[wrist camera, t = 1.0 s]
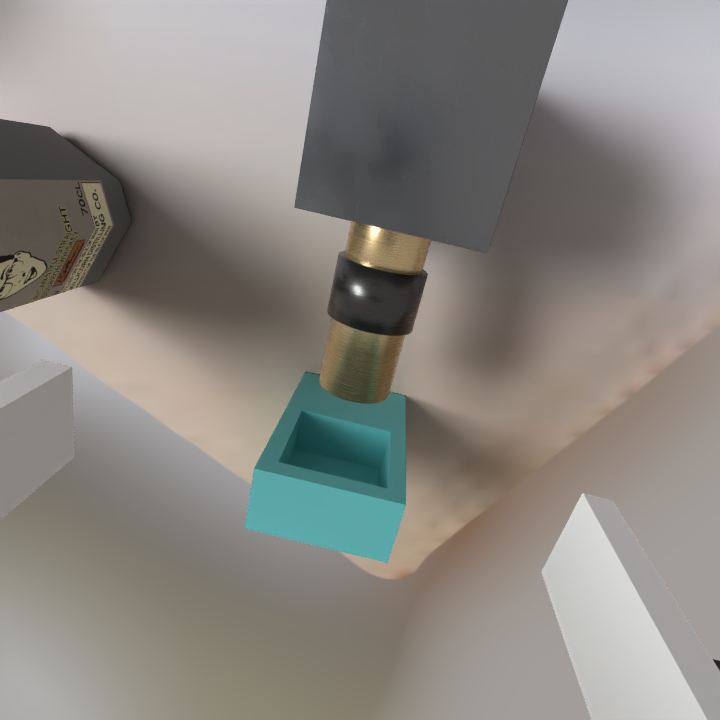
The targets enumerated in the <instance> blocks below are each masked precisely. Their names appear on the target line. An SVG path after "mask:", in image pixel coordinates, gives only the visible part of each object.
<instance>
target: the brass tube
mask: <svg viewBox="0 0 720 720" xmlns="http://www.w3.org/2000/svg"><path fill="white" fill-rule="evenodd" d="M430 241H431V240H429V239H425V238H421V237H417V236H412V235H408V234H404V233H400V232H395V231H391V230H387V229H383V228H379V227H374V226H370V225H366V224H362V223H358V222H353V221H351V226H350V231H349V236H348V241H347V246H346V250H345V251H343V252H340V253H339V255H338V260H337V265H336V270H335V275H334V280H333V285H332V290H331V295H330V300H329V305H328V310H327V311H328V314H329V315H330V316H331V317H332V319H331V324H330V329H329V334H328V339H327V344H326V349H325V354H324V359H323V363H322V368H321V373H320V378H319V382H320V384H321V386H322V387H323V388H324V389H325V390H326V391H327V392H329V393H330V394H332V395H334V396H336V397H338V398H340V399H343V400H346V401H350V402H355V403H363V404H373V403H379V402H382V401H384V400H386V399H387V398H388V396H389V393H390V389H391V385H392V381H393V378H394V374H395V370H396V367H397V363H398V359H399V356H400V352H401V348H402V345H403V341H404V337H405V335H407V334H409V333H411V332H412V330H413V326H414V322H415V319H416V315H417V312H418V308H419V304H420V301H421V297H422V293H423V290H424V286H425V283H426V279H427V275H428V274H427V272H426V271H424V270H423V267H424V263H425V260H426V256H427V252H428V249H429V245H430Z"/></svg>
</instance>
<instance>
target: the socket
mask: <svg viewBox="0 0 720 720" xmlns="http://www.w3.org/2000/svg"><path fill="white" fill-rule="evenodd" d="M319 378H320V375H317V374H313V373H309V372H305V374H304V376H303V377H302V379H301V381H300V383H299V385H298V387H297V389H296V391H295V393H294V394H293V396H292V398H291V400H290V402H289V404H288V406H287V408H286V409H285V411H284V413H283V415H282V417H281V419H280V421H279V423H278V425H277V426H276V428H275V430H274V432H273V434H272V436H271V438H270V440H269V442H268V443H267V445H266V447H265V449H264V451H263V453H262V455H261V457H260V459H259V460H258V462H257V464H256V466H255V468H254V473H253V480H252V486H251V492H250V499H249V505H248V512H247V518H246V524H245V528H246V529H250V530H254V531H258V532H263V533H267V534H270V535H274V536H279V537H283V538H287V539H291V540H295V541H300V542H303V543H307V544H312V545H316V546H320V547H324V548H328V549H332V550H336V551H341V552H345V553H349V554H353V555H357V556H361V557H365V558H370V559H374V560H378V561H382V562H386V563H388V560H389V557H390V553H391V550H392V547H393V544H394V541H395V538H396V535H397V532H398V528H399V525H400V522H401V519H402V516H403V513H404V510H405V506H406V396H405V395H401V394H396V393H392V392H390V393H389V396H388V398H387V399H386V400H384V401H382V402H379V403H373V404H363V403H355V402H350V401H346V400H343V399H340V398H338V397H336V396H334V395H332V394H330V393H329V392H327V391H326V390H325V389H324V388H323V387H322V386H321V384H320V382H319Z"/></svg>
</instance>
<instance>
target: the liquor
mask: <svg viewBox="0 0 720 720" xmlns="http://www.w3.org/2000/svg"><path fill="white" fill-rule="evenodd" d="M130 223H131V218H130V214H129V210H128V207H127V203H126V200H125V196H124V192H123V189H122V185H121V183H120V181H119V180H118V179H116V178H115V177H114V176H112V175H111V174H110V173H108V172H107V171H106V170H105V169H103V168H102V167H101V166H99V165H98V164H97V163H95V162H94V161H93V160H92V159H90V158H89V157H88V156H86V155H85V154H84V153H83V152H81V151H80V150H79V149H77V148H76V147H75V146H73V145H72V144H71V143H70V142H68V141H67V140H66V139H64V138H63V137H62V136H60V135H59V134H58V133H57V132H55V131H54V130H53V129H51V128H50V127H47V126H41V125H34V124H28V123H22V122H16V121H9V120H3V119H0V312H2V311H5V310H9V309H12V308H15V307H18V306H21V305H24V304H27V303H31V302H34V301H37V300H40V299H43V298H46V297H50V296H53V295H56V294H59V293H62V292H65V291H68V290H72V289H75V288H78V287H81V286H84V285H87V284H91V283H94V282H97V281H99V279H100V277H101V275H102V273H103V272H104V270H105V268H106V266H107V264H108V263H109V261H110V259H111V257H112V255H113V254H114V252H115V250H116V248H117V246H118V245H119V243H120V241H121V239H122V237H123V235H124V234H125V232H126V230H127V228H128V226H129V225H130Z"/></svg>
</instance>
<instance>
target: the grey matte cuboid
mask: <svg viewBox="0 0 720 720" xmlns="http://www.w3.org/2000/svg"><path fill="white" fill-rule="evenodd" d="M567 2H568V0H327V2H326V9H325V15H324V21H323V28H322V34H321V41H320V47H319V53H318V60H317V66H316V72H315V79H314V85H313V92H312V98H311V104H310V111H309V117H308V124H307V130H306V136H305V143H304V149H303V156H302V162H301V168H300V175H299V181H298V188H297V194H296V200H295V207H294V208H298V209H303V210H307V211H311V212H315V213H320V214H324V215H328V216H332V217H336V218H341V219H345V220H349V221H353V222H358V223H362V224H366V225H370V226H374V227H379V228H383V229H387V230H391V231H395V232H400V233H404V234H408V235H412V236H417V237H421V238H425V239H429V240H433V241H438V242H442V243H446V244H450V245H454V246H459V247H463V248H467V249H471V250H476V251H480V252H484V253H487V252H488V249H489V246H490V243H491V240H492V237H493V234H494V231H495V227H496V224H497V221H498V218H499V215H500V212H501V209H502V206H503V202H504V199H505V196H506V193H507V190H508V187H509V184H510V181H511V177H512V174H513V171H514V168H515V165H516V162H517V159H518V155H519V152H520V149H521V146H522V143H523V140H524V137H525V134H526V130H527V127H528V124H529V121H530V118H531V115H532V112H533V109H534V105H535V102H536V99H537V96H538V93H539V90H540V87H541V84H542V80H543V77H544V74H545V71H546V68H547V65H548V62H549V59H550V55H551V52H552V49H553V46H554V43H555V40H556V37H557V34H558V30H559V27H560V24H561V21H562V18H563V15H564V12H565V9H566V5H567Z"/></svg>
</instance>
